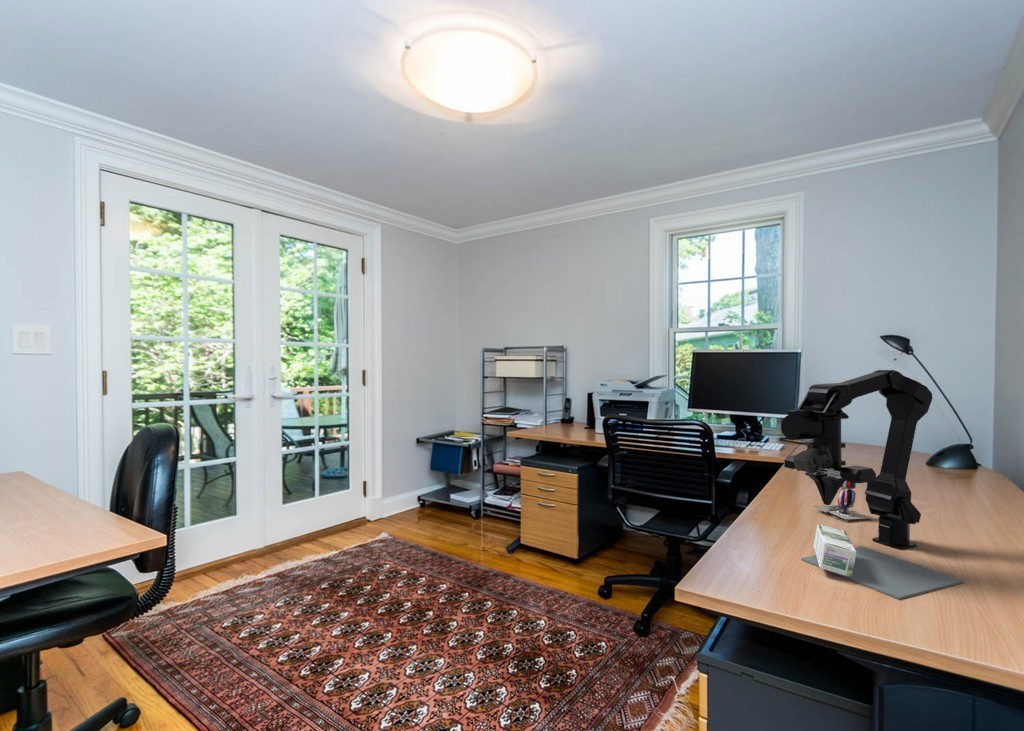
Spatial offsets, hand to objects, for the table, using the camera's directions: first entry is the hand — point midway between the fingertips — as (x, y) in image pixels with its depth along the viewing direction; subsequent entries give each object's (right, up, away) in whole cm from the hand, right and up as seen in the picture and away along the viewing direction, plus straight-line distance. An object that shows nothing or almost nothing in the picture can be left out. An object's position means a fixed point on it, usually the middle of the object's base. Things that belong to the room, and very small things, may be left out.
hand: (827, 504), depth 113 cm
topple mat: (+4, -11, -10) cm, 16 cm away
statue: (+22, -11, +27) cm, 37 cm away
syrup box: (-1, -7, -2) cm, 7 cm away
